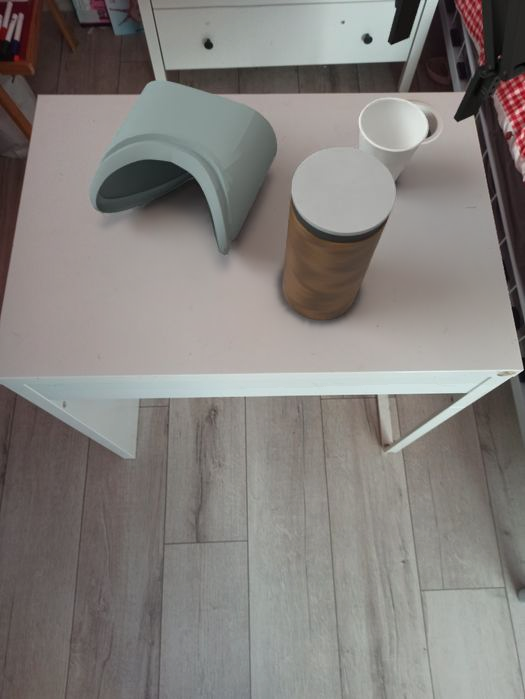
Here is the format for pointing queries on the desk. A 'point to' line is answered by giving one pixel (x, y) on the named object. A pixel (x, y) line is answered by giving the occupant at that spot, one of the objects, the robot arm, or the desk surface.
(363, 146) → the cup
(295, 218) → the plinth
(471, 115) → the robot arm
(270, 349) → the desk surface
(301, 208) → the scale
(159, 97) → the sage-green arched shell
